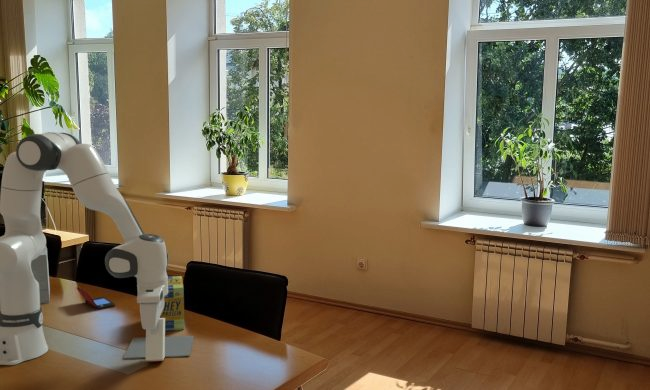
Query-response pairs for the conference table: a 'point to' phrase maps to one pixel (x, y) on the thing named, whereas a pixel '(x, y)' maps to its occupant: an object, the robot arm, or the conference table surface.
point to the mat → (172, 347)
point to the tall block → (156, 343)
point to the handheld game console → (96, 301)
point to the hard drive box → (42, 275)
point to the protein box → (174, 305)
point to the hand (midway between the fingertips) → (154, 332)
